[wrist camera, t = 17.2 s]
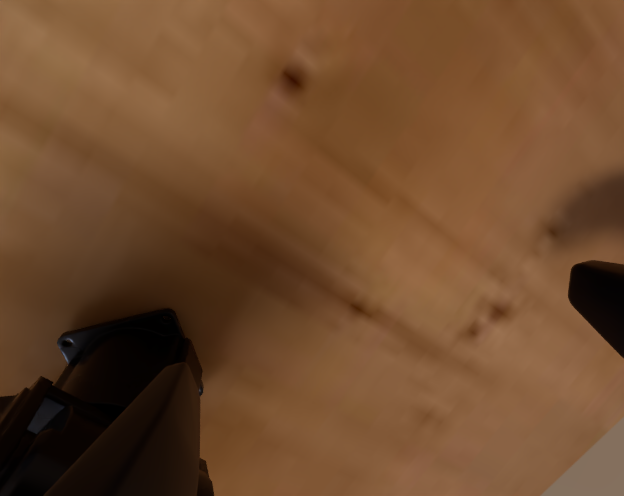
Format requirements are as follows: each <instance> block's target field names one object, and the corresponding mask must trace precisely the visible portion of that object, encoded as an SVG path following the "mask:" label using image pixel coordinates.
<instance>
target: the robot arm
mask: <svg viewBox="0 0 624 496" xmlns="http://www.w3.org/2000/svg"><path fill="white" fill-rule="evenodd" d="M568 298H569V301H570V303H571V304H572V306H573V307H574V308H575V309H576V310H577V311H578V312H579V313H580V314H581V315H582V316H583V317H584V318H585V319H586V320H587V321H588V322H589V323H590V324H591V326H592V327H593V328H594V329H595V330H596V331H597V332H598V333H599V334H600V335H601V336H602V337H603V338H604V339H605V340H606V341H607V342H608V343H609V344H610V345H611V346H612V347H613V348H614V349H615V350H616V351H617V352H618V353H619V354H620V355H621V356H622V357H623V358H624V264H617V263H609V262H602V261H595V260H591V261H586V262H582V263H578V264H575V265H574V266H573V267H572V269H571V273H570V282H569V290H568ZM163 316H168V317H170V319H169V320H166V319H164V318H163ZM66 340H70V341H71V342H72V343H69V342H67V341H66ZM57 344H58V346H59V348H60V350H61V352H62V354H63V355H64V357H65V359H66V361H67V362H68V366H67V367H66V368H65V370H64V371H63V373H62V374H61V376H60V377H59V379H58V380H57V382H56V383H55V384H54V386H53V385H52V384H53V382H52V381H50V380H48V379H46V378H44V377H42V376H41V377H40V378H39V379H38V380H37V381H36V382H35V383H34V384H33V385H32V386H31V387H30V388H29V389H28V388H24V389H23V390H22V391H21V392H20V393H19V394H17V395H15V396H4V397H0V496H214V492H213V485H212V481H211V480H210V478H209V474H208V469H207V465H206V461H205V460H203V459H201V458H200V396H201V395H202V393H203V388H204V387H203V383H202V380H201V377H202V368H201V365H200V363H199V360H198V358H197V355H196V352H195V350H194V347H193V344H192V342H191V340H190V339H188V338H185V336H184V334H183V331H182V328H181V326H180V323H179V321H178V318H177V315H176V313H175V312H174V311H173V310H172V309H161V310H157V311H153V312H149V313H144V314H140V315H136V316H132V317H128V318H123V319H119V320H115V321H111V322H106V323H102V324H98V325H94V326H90V327H85V328H81V329H77V330H73V331H69V332H65V333H63V334H62V335H61V337H60V338H59V339H58V341H57Z"/></svg>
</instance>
